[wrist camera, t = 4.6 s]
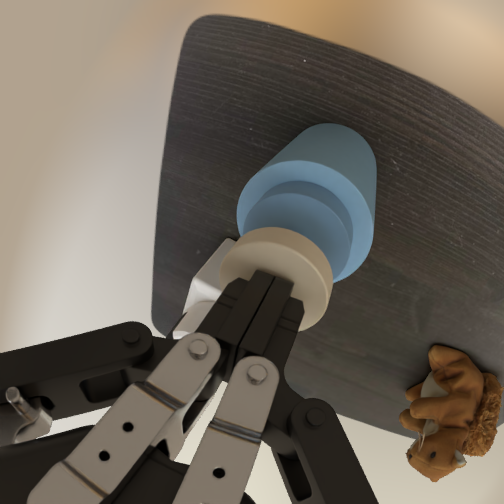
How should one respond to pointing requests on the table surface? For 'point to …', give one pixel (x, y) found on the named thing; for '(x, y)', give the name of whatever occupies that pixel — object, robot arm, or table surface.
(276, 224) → the pump bottle
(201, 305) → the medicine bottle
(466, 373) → the stuffed squirrel
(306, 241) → the disc
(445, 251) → the table surface
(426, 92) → the table surface
